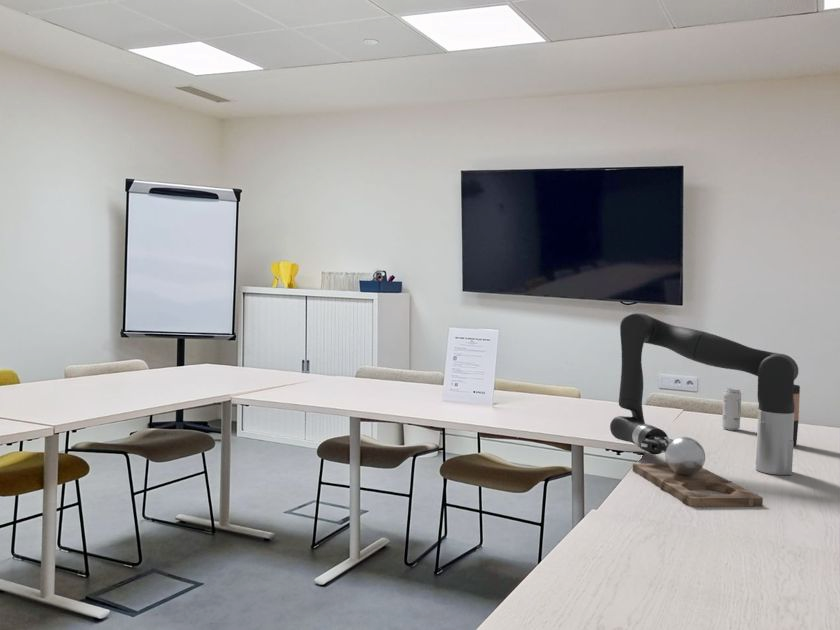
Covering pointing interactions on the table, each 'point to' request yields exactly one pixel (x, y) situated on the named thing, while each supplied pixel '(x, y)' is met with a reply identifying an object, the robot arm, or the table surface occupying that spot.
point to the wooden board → (697, 487)
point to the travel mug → (796, 412)
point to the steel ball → (685, 456)
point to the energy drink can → (731, 409)
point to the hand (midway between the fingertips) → (676, 451)
